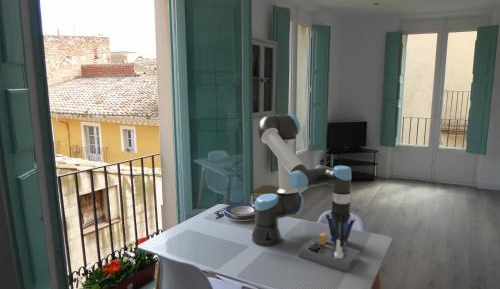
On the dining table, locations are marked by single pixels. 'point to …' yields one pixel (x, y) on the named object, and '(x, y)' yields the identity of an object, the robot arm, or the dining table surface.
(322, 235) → the toggle knob
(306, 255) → the panel
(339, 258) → the white button
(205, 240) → the dining table surface
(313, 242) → the black button
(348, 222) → the beer can
